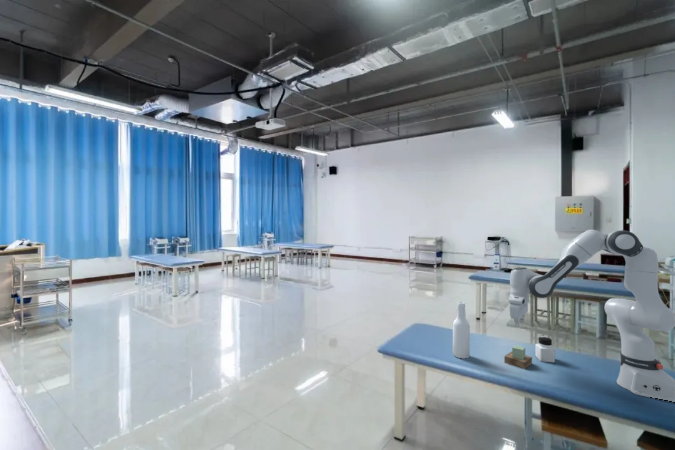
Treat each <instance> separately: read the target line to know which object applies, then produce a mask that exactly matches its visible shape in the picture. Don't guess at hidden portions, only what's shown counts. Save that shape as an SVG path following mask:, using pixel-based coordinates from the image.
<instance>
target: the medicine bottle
mask: <svg viewBox="0 0 675 450" xmlns="http://www.w3.org/2000/svg"><path fill="white" fill-rule="evenodd" d="M552 341H553V340H552V339H551V338H550V337H548V336H543V335H541V336H539V337H538V343H535V344H534V345H535V352H534V353H535V357H536V358H537V359H538V360H539V361H540V362H543V363H545V362H546V363H556V349H555V347H553V346H552V345H553V344H552V343H553V342H552Z"/></svg>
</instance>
